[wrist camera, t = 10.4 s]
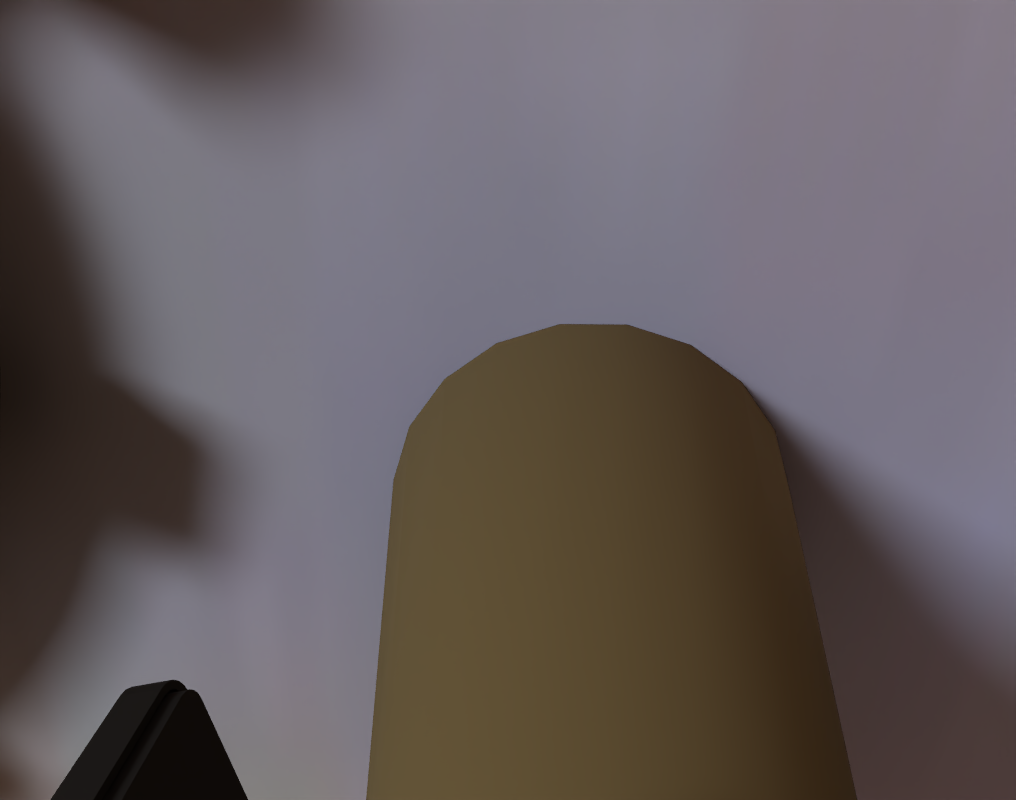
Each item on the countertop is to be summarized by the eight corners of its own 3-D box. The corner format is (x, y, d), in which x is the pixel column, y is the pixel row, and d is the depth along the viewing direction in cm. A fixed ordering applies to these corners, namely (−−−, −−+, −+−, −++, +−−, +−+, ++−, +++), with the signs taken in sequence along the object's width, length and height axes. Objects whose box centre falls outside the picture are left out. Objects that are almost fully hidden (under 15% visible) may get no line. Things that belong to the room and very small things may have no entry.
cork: (838, 358, 13) (2027, 1756, 2) (733, 693, 15) (1107, 2111, 5) (414, 291, 12) (-207, 1441, 2) (376, 638, 15) (-15, 1957, 5)
